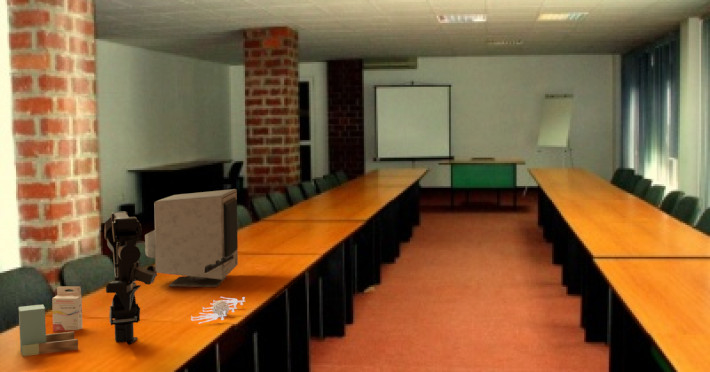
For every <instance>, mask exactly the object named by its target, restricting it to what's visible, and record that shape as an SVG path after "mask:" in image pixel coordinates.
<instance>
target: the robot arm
mask: <svg viewBox="0 0 710 372" xmlns="http://www.w3.org/2000/svg"><path fill="white" fill-rule="evenodd" d="M128 214H129V213H128V211H113V212H111V214H110V217H109V218H108V219H107V220H106V221H105V222H104V239H105V240H106V244H107V247H108V248H109V249H110V251H111V252H112V257H113V258H112V259H113V260H112V261H113V270H114V272H113V273H114V280H112V281H110V282H108V283H107V284H106V285H105V293H106V294H114V295H113V297H112V300H111V305H110V306H109V314H108V315H109V316H108V317H109V324H110V326H113V325H114V340H115V342H116V343H126V344H128V345H131V344H133V343H134V342H135V341H137V339H138V337H137V336H134V333H135V332H134V323H139V322H140V321H141V319H140V317H141V315H140V314H141V307H140V306H139V303H137V301H136V296H135V293H136V291H138V290H139V288H141V287H142V286H141V285H142V284H141V285H139V284H137V283H136V282H142V283H143V284H145V285H151V284H153V283H154V282H155V279H156V277H157V276H158V273H157V271H156V268H155V265H153V264H151V265H149V266H148V267H144V266H141V263H140V261H139V260H140V258H141V251H140V250H141V249H140V248H139V247H138V246H137V242H141V241H142V238H143V228H142V224H141V223H140V221H139V220H138V219H137V217H136V216H129V215H128Z"/></svg>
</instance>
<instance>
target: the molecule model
mask: <svg viewBox="0 0 710 372" xmlns="http://www.w3.org/2000/svg"><path fill="white" fill-rule="evenodd" d="M233 256H234V255H230V256H227V257H222V258H221V260H220V261H219V260H217V261H216V264H209V265H207V266H205V272H204V273H207V272H209V271H210V270H213V269H215V268H217V267H218V266H220V265H222V264H223V263H225V262H227V261H229V260H231V259H233V258H234V257H233ZM221 298H222V299H221ZM245 298H246V297H245V296H243V297H242V299H241V300H238V299H237V298H234V297H233V298H231V297H224V296H220V299H219V300H215V299H213V302H212V303H211V307H202V312H199V314H200V315H199V316H192V315H191V318H190V320H191V321H192V322H193V321H201V320H205V321H201V322H198V324H203V323H206V322H210V321H215V320H218V318H220V320H221V321H224V320H225V317H227V314H228V313H229V311H230V310H231V313H235V309H238V308H237V304H238V303H239V304H240V306H243V305H244V302H246V300H245ZM230 306H232V307H230ZM207 309H211V310H208V312H212V313H205V312H206V310H207Z"/></svg>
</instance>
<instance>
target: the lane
mask: <svg viewBox="0 0 710 372" xmlns="http://www.w3.org/2000/svg"><path fill="white" fill-rule="evenodd" d="M76 350H79V340H78V338H76V339H75V330H72V331H67V332H66V331H63V332H58V333H56V332H55V333H48V334H47V333H46V343H39V354H38V355H43V354H50V353H51V354H52V353H53V354H54V353H61V352H68V351H69V352H70V351H76Z"/></svg>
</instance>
